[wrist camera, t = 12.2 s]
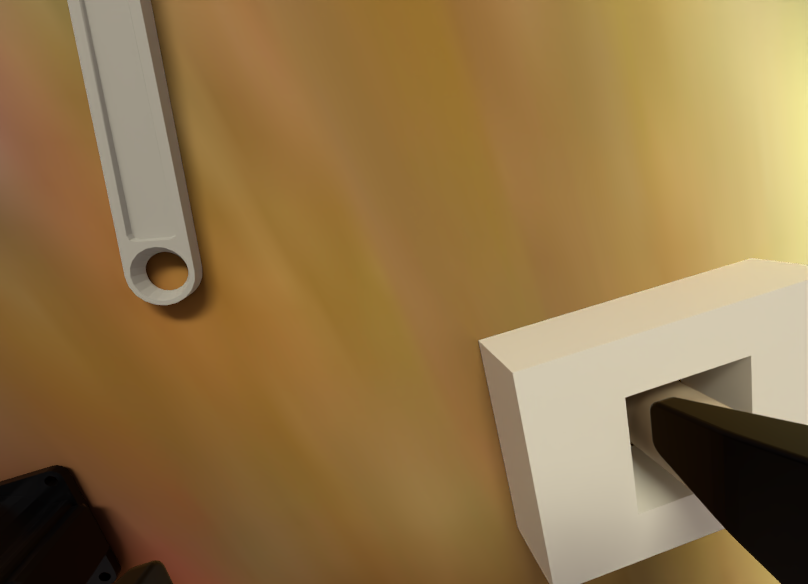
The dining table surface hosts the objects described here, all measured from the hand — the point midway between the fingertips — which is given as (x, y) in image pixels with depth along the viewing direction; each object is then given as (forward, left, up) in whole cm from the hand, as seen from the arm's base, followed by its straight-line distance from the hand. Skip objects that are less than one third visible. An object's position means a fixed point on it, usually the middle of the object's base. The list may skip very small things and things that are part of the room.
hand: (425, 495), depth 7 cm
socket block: (+13, -9, -12) cm, 20 cm away
